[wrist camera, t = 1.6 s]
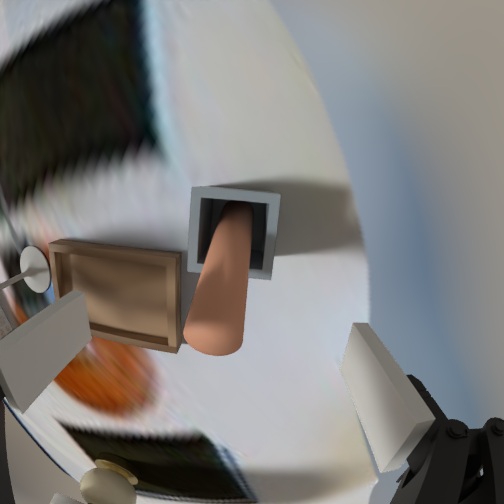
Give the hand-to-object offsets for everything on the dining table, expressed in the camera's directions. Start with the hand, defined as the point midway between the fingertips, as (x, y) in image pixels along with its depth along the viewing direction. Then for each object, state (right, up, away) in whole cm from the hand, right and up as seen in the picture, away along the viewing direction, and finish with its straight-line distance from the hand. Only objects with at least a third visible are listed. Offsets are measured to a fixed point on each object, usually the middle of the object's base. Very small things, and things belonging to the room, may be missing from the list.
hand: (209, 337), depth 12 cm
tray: (-15, -1, +19) cm, 25 cm away
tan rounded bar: (0, +6, +17) cm, 18 cm away
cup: (0, +7, +17) cm, 19 cm away
